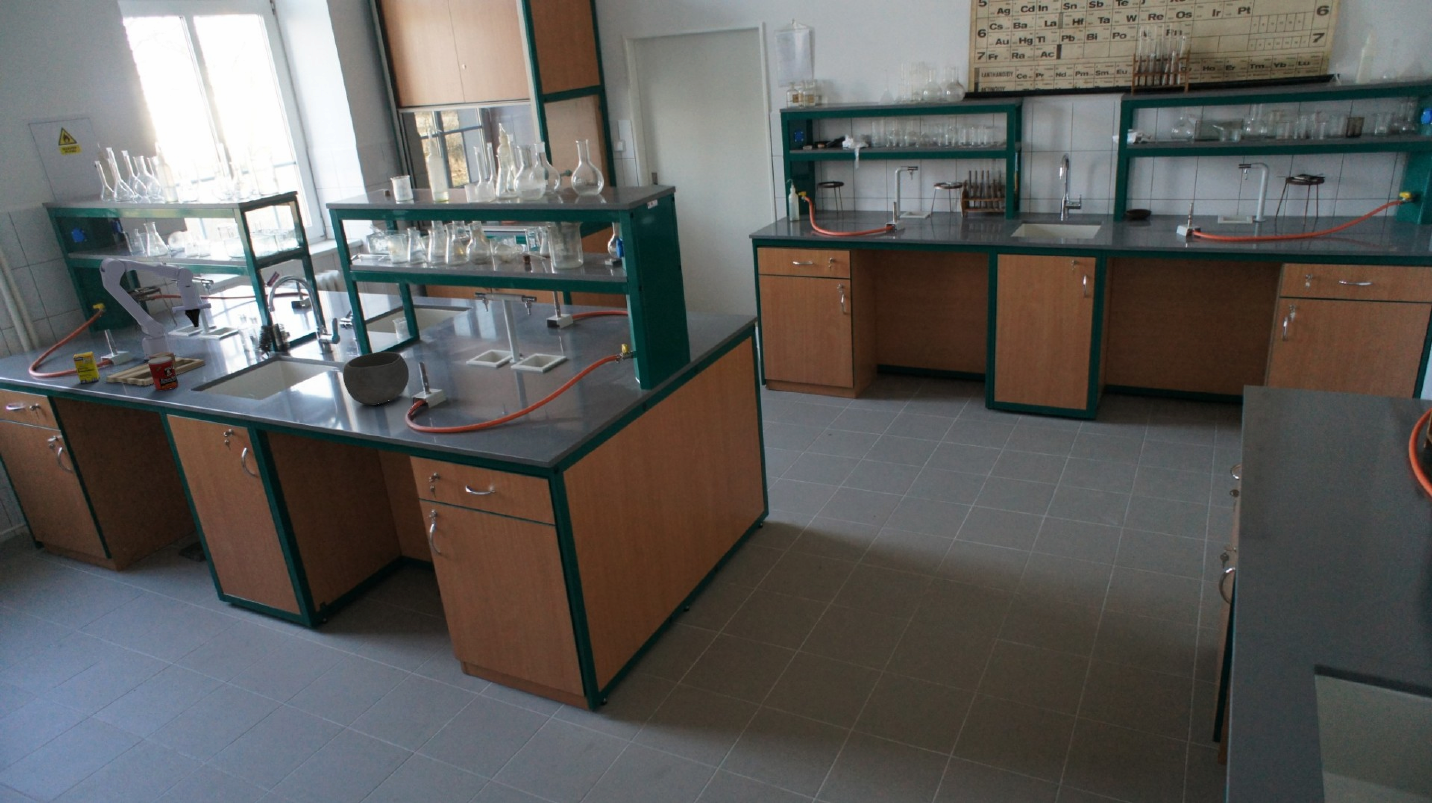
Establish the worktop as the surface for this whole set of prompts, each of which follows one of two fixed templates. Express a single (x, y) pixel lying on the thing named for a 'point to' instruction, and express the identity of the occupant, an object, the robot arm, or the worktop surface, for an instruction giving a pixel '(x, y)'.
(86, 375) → the supplement box
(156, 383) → the canned food
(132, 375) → the trap deck
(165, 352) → the walnut block
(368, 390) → the bowl
